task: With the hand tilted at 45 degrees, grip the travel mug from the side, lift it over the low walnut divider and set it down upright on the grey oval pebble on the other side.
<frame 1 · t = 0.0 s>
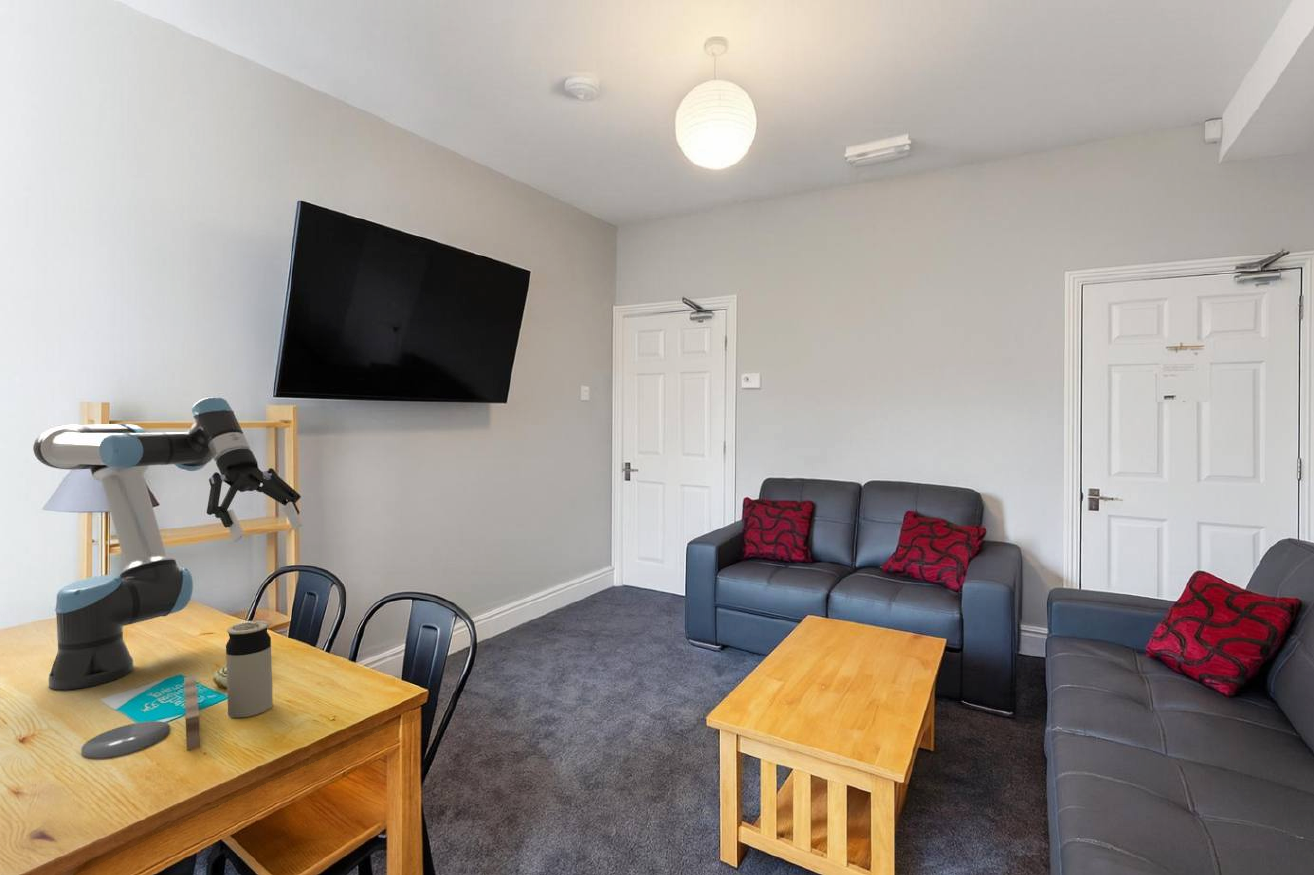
hand: (270, 532, 142), 36 cm above the table, tool tilted 35°, fingers open, 13 cm apart
grey oval pebble: (127, 740, 120), on the table
travel mug: (250, 711, 133), on the table
decorated donut: (241, 683, 147), on the table
pill bottle: (246, 657, 163), on the table
walnut divider: (192, 724, 126), on the table
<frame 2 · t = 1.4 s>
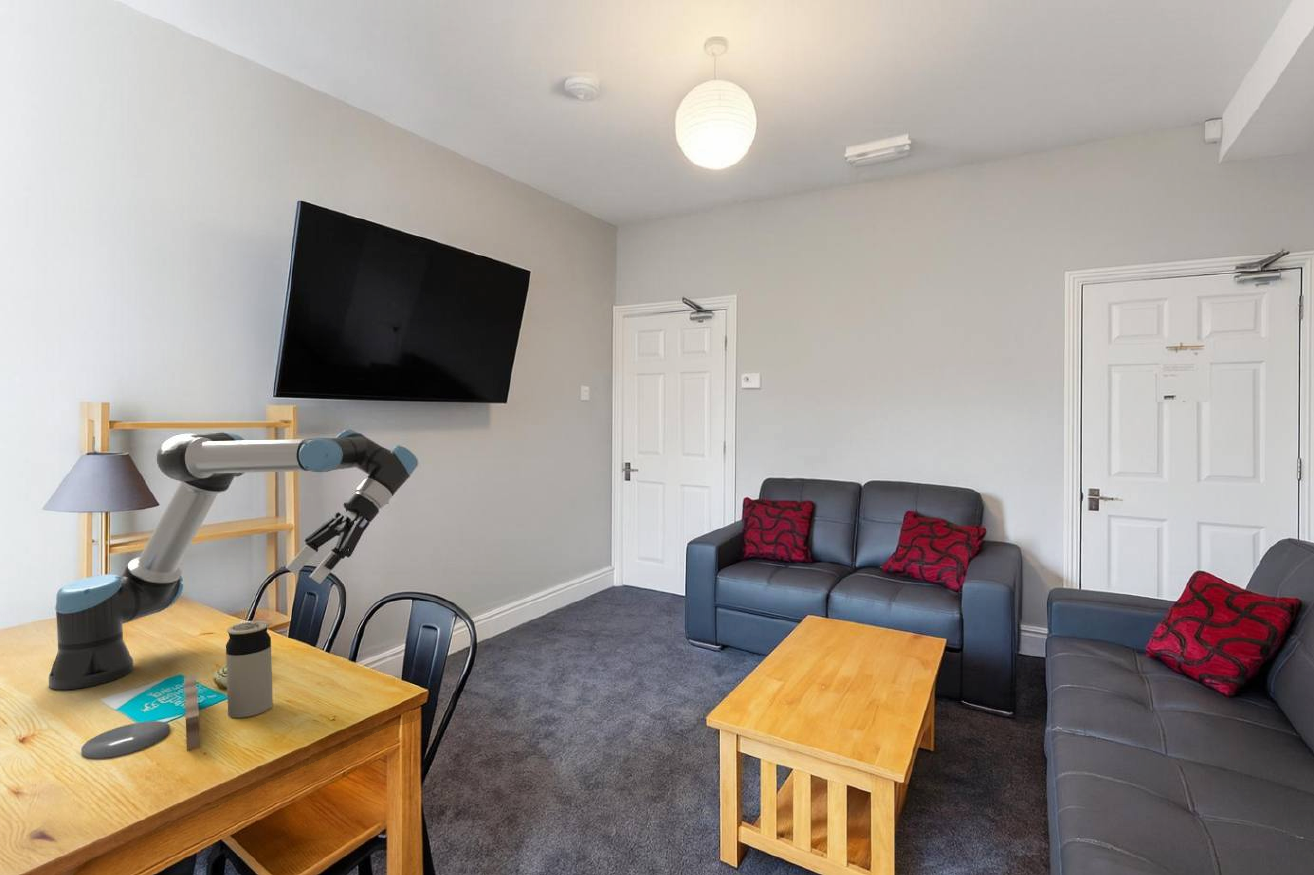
hand: (302, 575, 140), 27 cm above the table, tool tilted 45°, fingers open, 13 cm apart
nothing on the table moved.
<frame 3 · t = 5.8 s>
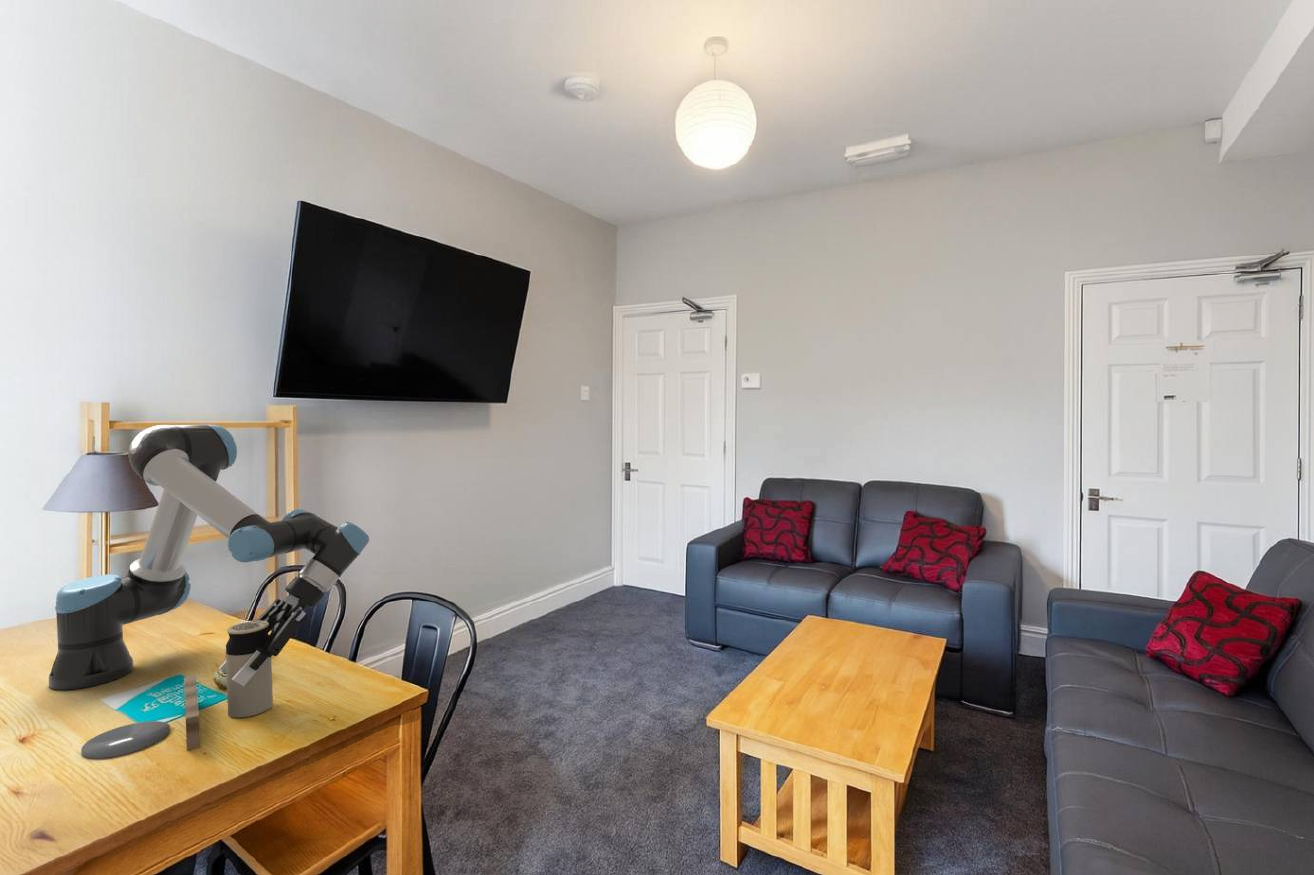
hand: (231, 677, 130), 8 cm above the table, tool tilted 45°, fingers closed on travel mug, 8 cm apart
travel mug: (250, 710, 133), on the table, touching gripper
everything else where it was.
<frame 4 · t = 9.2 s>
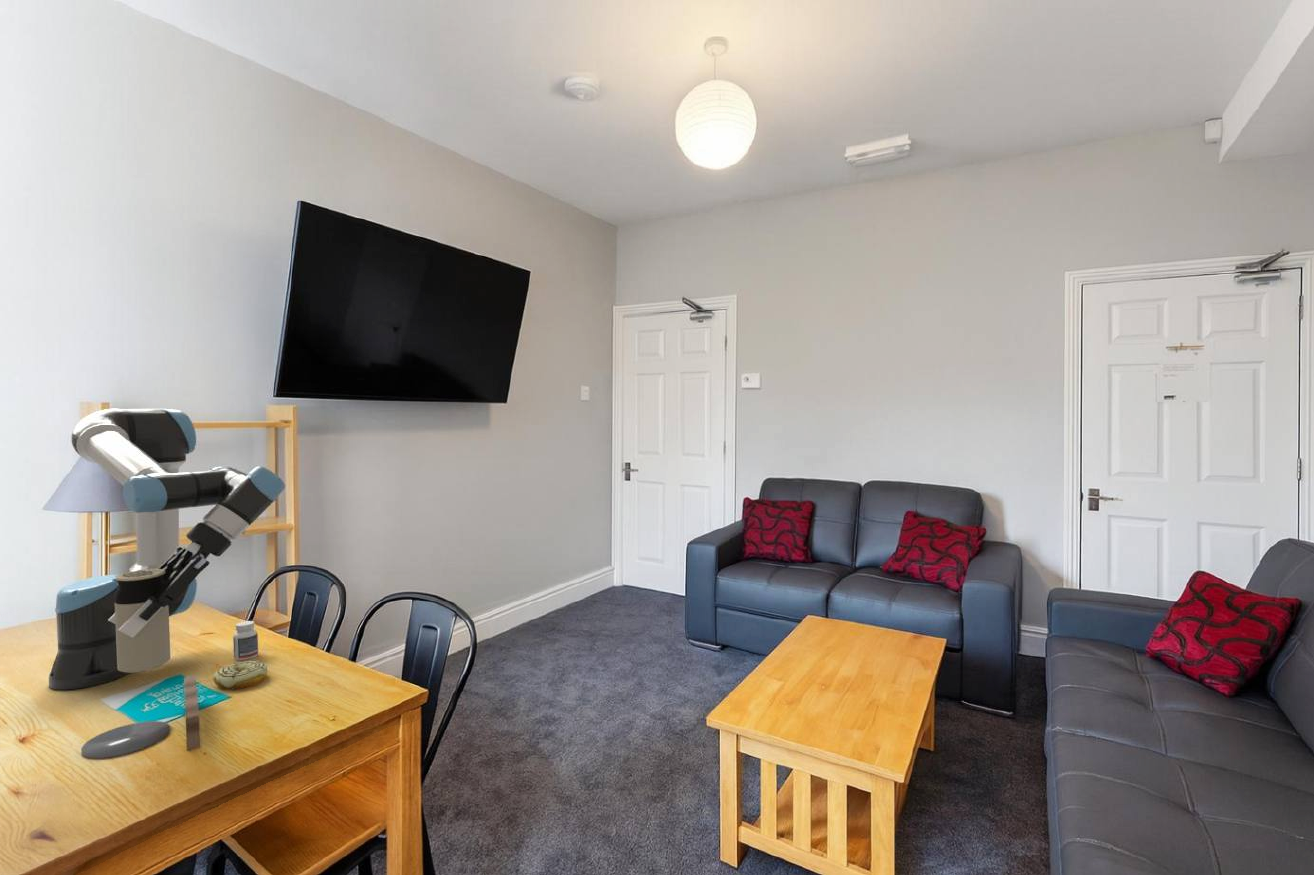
hand: (120, 628, 118), 22 cm above the table, tool tilted 45°, fingers closed on travel mug, 8 cm apart
travel mug: (144, 666, 121), point 14 cm above the table, touching gripper
everything else where it was.
when the fingers open (10 cm above the table, at t = 12.3 s): travel mug drops 1 cm, resting on grey oval pebble.
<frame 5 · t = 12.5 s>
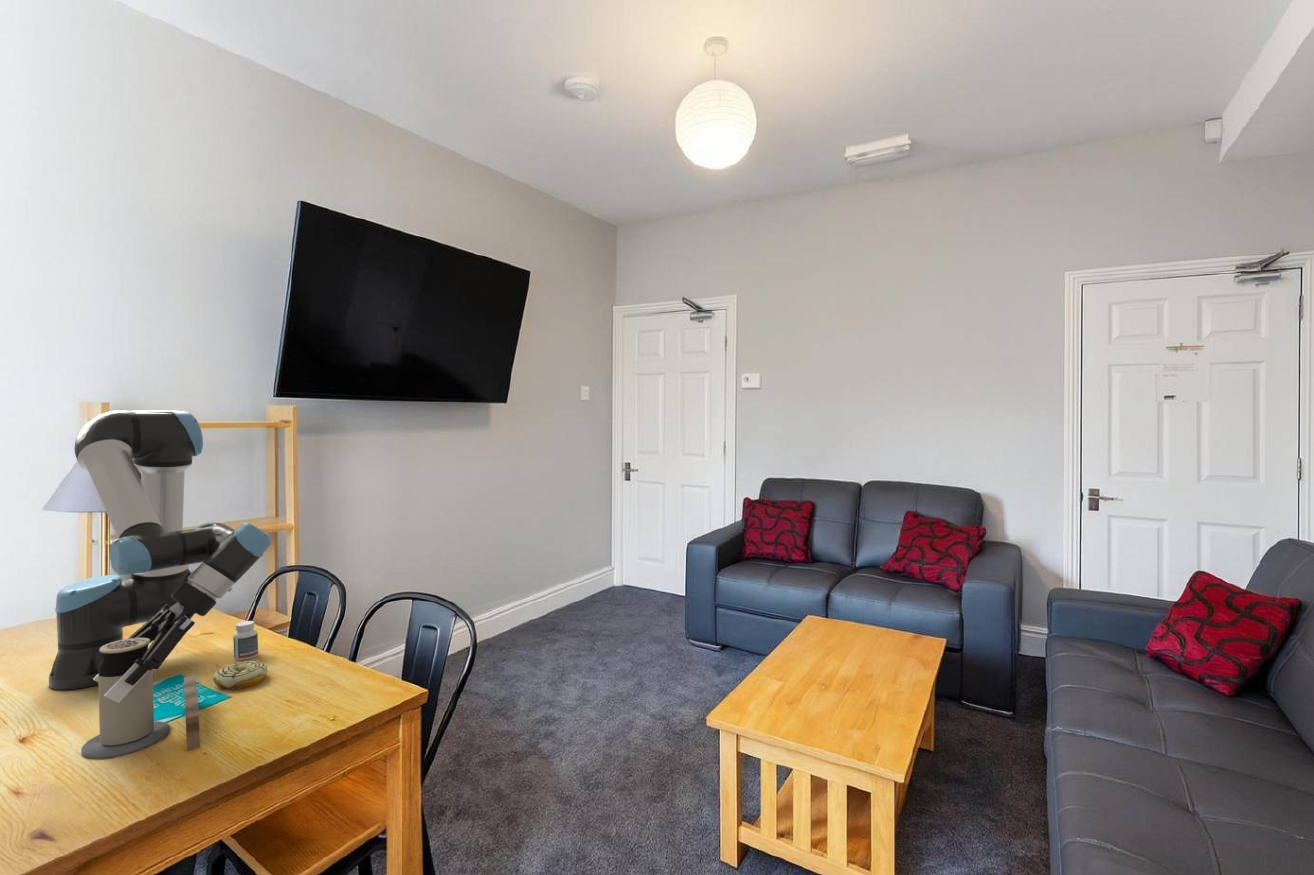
hand: (105, 690, 118), 11 cm above the table, tool tilted 45°, fingers open, 10 cm apart
travel mug: (127, 737, 121), resting on grey oval pebble
everything else where it was.
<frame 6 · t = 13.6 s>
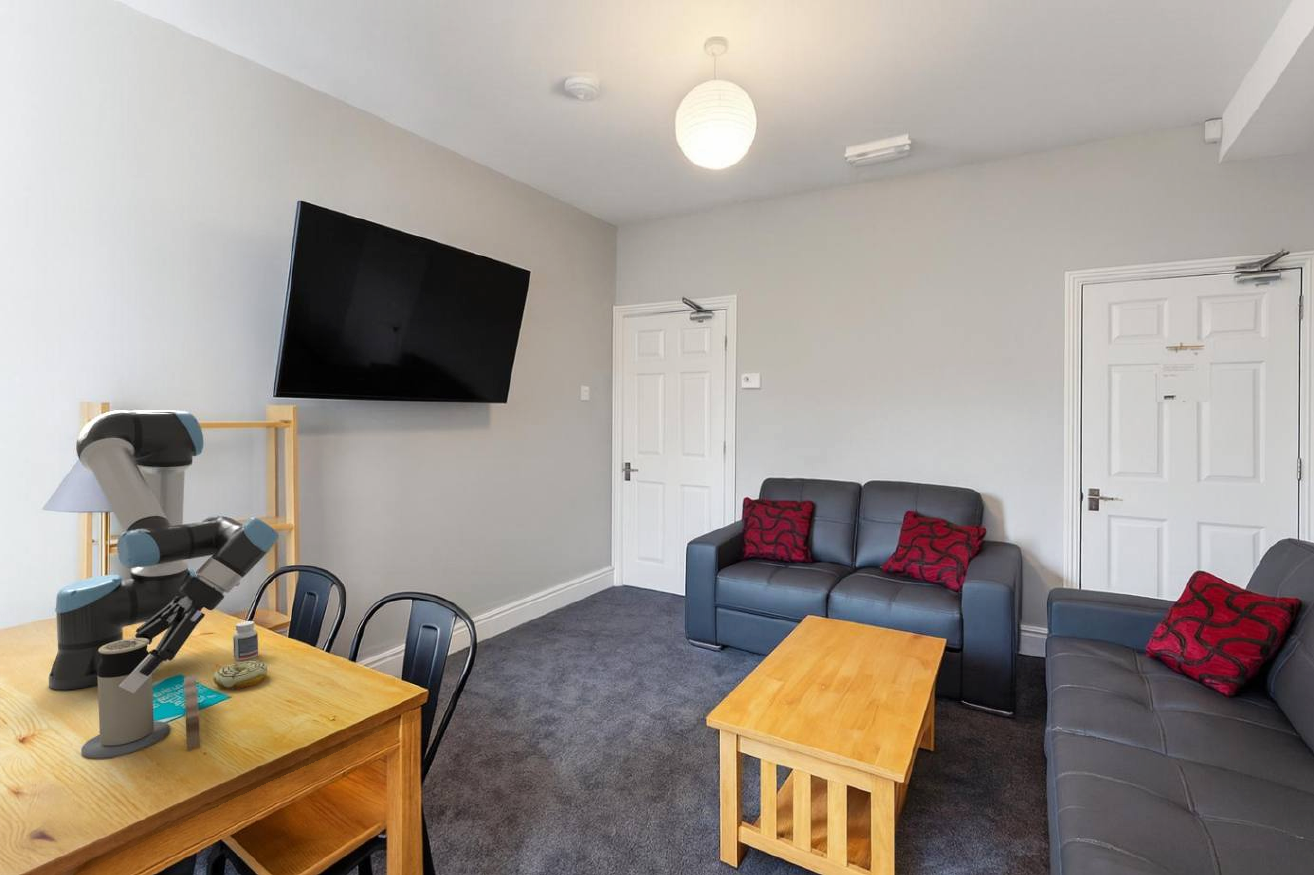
hand: (118, 679, 119), 12 cm above the table, tool tilted 45°, fingers open, 13 cm apart
nothing on the table moved.
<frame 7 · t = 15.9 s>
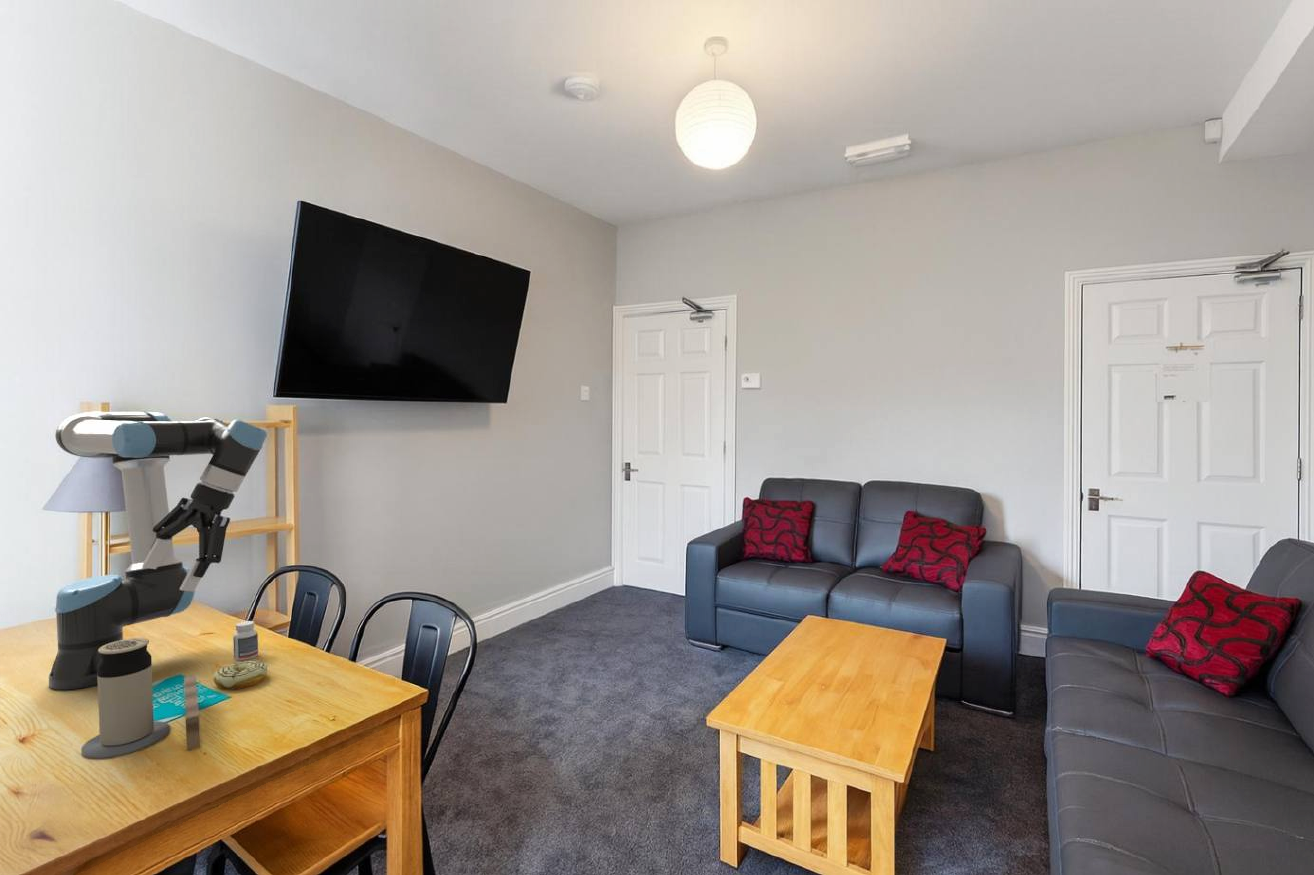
hand: (167, 579, 134), 28 cm above the table, tool tilted 25°, fingers open, 13 cm apart
nothing on the table moved.
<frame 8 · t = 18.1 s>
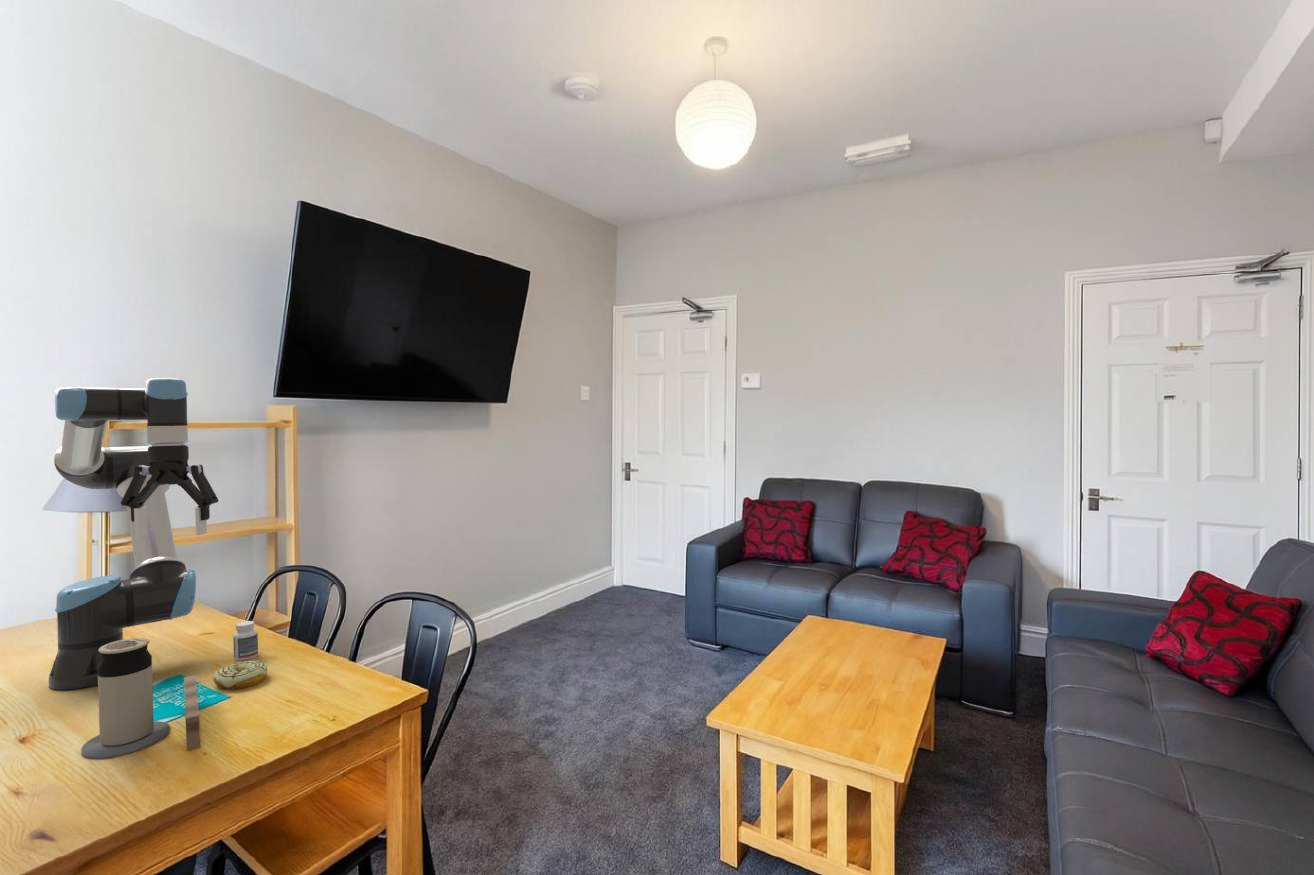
hand: (171, 534, 147), 35 cm above the table, tool pointing down, fingers open, 13 cm apart
nothing on the table moved.
at the end: travel mug inside the target area on the grey oval pebble (0.3 cm from its centre), point 0.4 cm above the grey oval pebble's base; travel mug tilted 0°; the gripper is holding nothing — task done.
